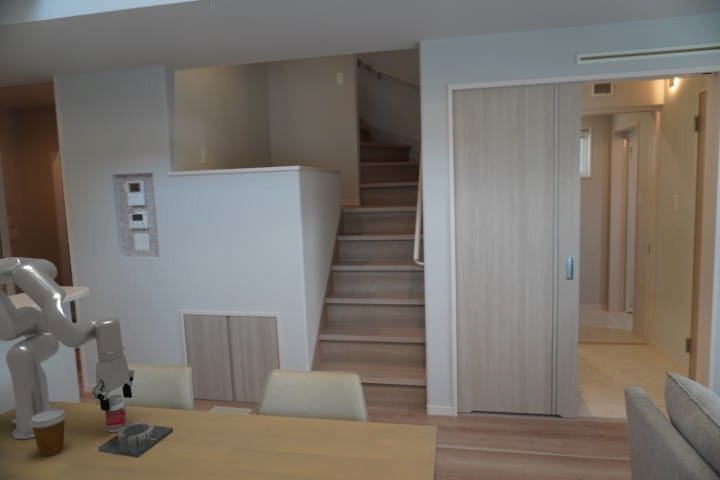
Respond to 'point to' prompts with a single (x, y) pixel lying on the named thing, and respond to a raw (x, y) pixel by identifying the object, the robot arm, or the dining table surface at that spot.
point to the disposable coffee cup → (49, 431)
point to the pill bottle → (115, 414)
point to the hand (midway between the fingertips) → (117, 403)
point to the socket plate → (137, 448)
